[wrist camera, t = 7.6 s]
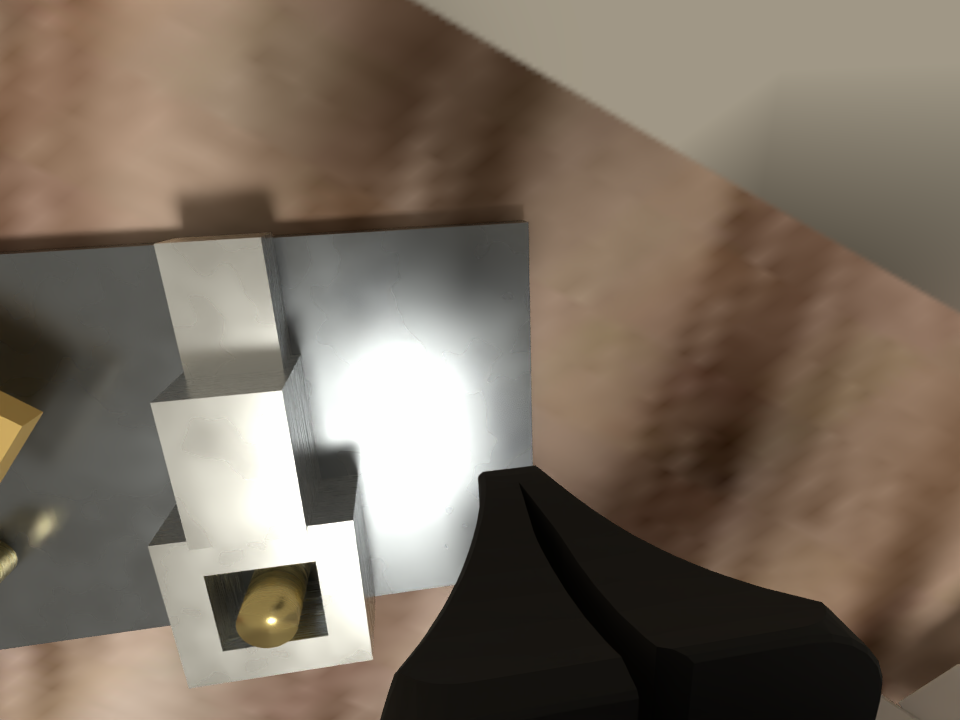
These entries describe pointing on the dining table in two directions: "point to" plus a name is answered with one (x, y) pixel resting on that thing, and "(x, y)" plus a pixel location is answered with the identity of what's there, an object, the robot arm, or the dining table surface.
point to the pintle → (273, 605)
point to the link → (249, 473)
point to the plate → (331, 394)
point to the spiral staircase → (927, 701)
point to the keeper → (14, 428)
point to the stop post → (6, 560)
